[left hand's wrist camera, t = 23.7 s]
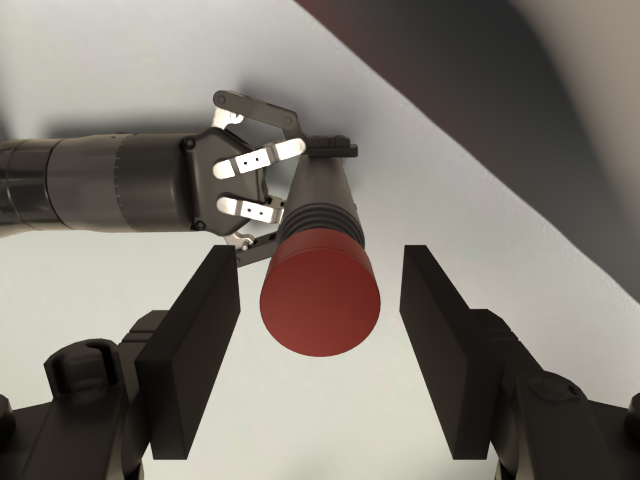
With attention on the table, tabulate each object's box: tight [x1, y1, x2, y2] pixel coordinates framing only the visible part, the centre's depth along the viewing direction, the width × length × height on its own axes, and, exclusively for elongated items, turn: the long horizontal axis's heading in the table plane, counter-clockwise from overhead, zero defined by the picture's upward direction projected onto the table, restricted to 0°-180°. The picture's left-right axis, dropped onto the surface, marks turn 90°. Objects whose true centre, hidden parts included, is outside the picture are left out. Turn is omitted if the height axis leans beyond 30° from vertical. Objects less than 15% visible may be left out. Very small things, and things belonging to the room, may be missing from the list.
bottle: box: [275, 155, 365, 250], centre depth 25 cm, size 4×4×25 cm
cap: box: [260, 228, 381, 357], centre depth 14 cm, size 4×4×2 cm
